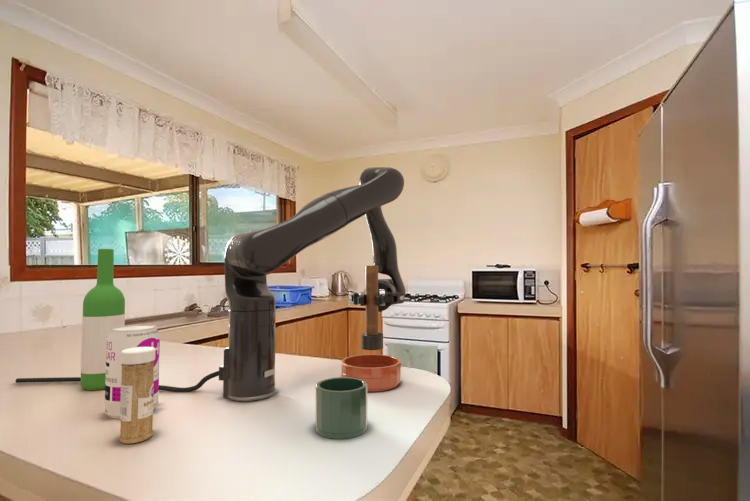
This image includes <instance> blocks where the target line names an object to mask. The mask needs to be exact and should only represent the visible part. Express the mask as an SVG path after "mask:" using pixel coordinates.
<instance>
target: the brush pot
mask: <svg viewBox="0 0 750 501" xmlns="http://www.w3.org/2000/svg"><path fill="white" fill-rule="evenodd" d="M367 429H368V392H367V383H366V381H364V380H361V379H358V378H352V377H341V376H339V377H330V378H329V377H328V378H325V379H322V380H320V381H317V383H316V384H315V431H316V433H317V434H318V435H319V436H321V437H324V438H328V439H331V440H332V439H333V440H346V439H347V440H348V439H352V438H357V437H359V436H362V435H363V434H365V432H366V431H367Z"/></svg>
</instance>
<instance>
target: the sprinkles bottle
mask: <svg viewBox="0 0 750 501" xmlns="http://www.w3.org/2000/svg"><path fill="white" fill-rule="evenodd" d="M154 360H155V348H154V347H135V348H128V349H125V350H123V351H122V352H121V363H122V365H121V366H122V381H121V399H120V419H119V420H120V430H119V432H120V433H119V434H120V435H119V436H118V441H119V442H120V443H122V444H128V445H129V444H138V443H141V442H143V441H146V440H148V439H150V438H151V437H153V435H154V428H153V426H154V410H153V400H154V383H153V380H154V379H153V377H154Z"/></svg>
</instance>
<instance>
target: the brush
mask: <svg viewBox="0 0 750 501" xmlns="http://www.w3.org/2000/svg"><path fill="white" fill-rule="evenodd" d="M364 271H365V276H364V279H365V282H364V283H365V288H364V290H365V292H366V306H365V332H364V333H363V332H362V333H361V334H360V348H361V349H362V350H365V351H381V350H383V349H384V334H383V333H382V332H379V312H378V306H376V296H377V295H378V279H379V273H378V266H374V265H365V270H364Z"/></svg>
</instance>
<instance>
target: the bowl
mask: <svg viewBox="0 0 750 501" xmlns="http://www.w3.org/2000/svg"><path fill="white" fill-rule="evenodd" d="M340 377H352V378H358V379H361V380H364V381H366V383H367V393H369V392H370V393H375V392H384V391H389V390H393V389H394V388H396V387H397V386H398V385H399V384H400V383H401V381H402V359H400V358H398V357H396V356H392V355H387V354H378V353H377V354H373V353H371V354H369V353H367V354H356V355H355V354H354V355H351V356H347V357H345V358H342V359H341V361H340Z"/></svg>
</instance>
